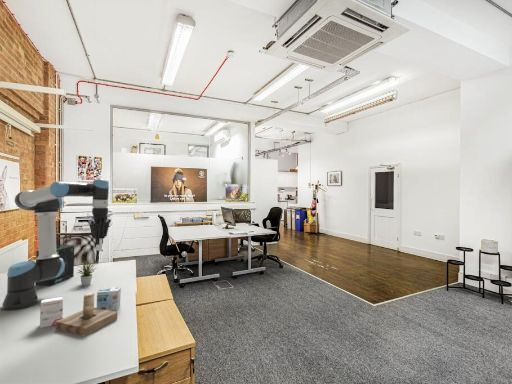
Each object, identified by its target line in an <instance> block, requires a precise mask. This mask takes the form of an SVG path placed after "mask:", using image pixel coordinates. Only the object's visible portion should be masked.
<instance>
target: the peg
mask: <svg viewBox="0 0 512 384" xmlns="http://www.w3.org/2000/svg"><path fill="white" fill-rule="evenodd" d="M82 305H83V307H82V308H83V309H82V310H83V319H85V320H88V319H90V318H92V317H93V314H94V308H95V293H93V292H92V293H91V292H90V293H86V294H84V295H83V304H82Z"/></svg>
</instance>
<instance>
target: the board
mask: <svg viewBox="0 0 512 384" xmlns="http://www.w3.org/2000/svg"><path fill="white" fill-rule="evenodd" d="M116 320H118V311H110V310H104V309H99V308H97V307H94V314H93V317H92V318H90V319H88V320H85V319H83V309H82V310H79V311H78V312H75V313H73V314H71V315H68V316H65V317H63V319H61V320H58V321H56V325H55V330H56V331H57V330H58V331H62V332H66V331H67V332H66V333H70V332H71V334H75V335H79V336H83V337H86V336H88V335H89V334H91V333H93V332H95V331H97V330H99V329H100V328H103V327H105V326H106V325H108V324H110V323H113V322H114V321H116Z"/></svg>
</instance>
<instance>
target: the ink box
mask: <svg viewBox="0 0 512 384" xmlns="http://www.w3.org/2000/svg"><path fill="white" fill-rule="evenodd" d="M39 312H40V315H39V328H40V329H41V328H46V327H47V328H48V327H51V326H56V321H58V320H61V319H63V318H64V317H63V316H64V297H63V296H61V297H60V296H59V297H52V298H47V299H42V300H41V301H40V311H39Z"/></svg>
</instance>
